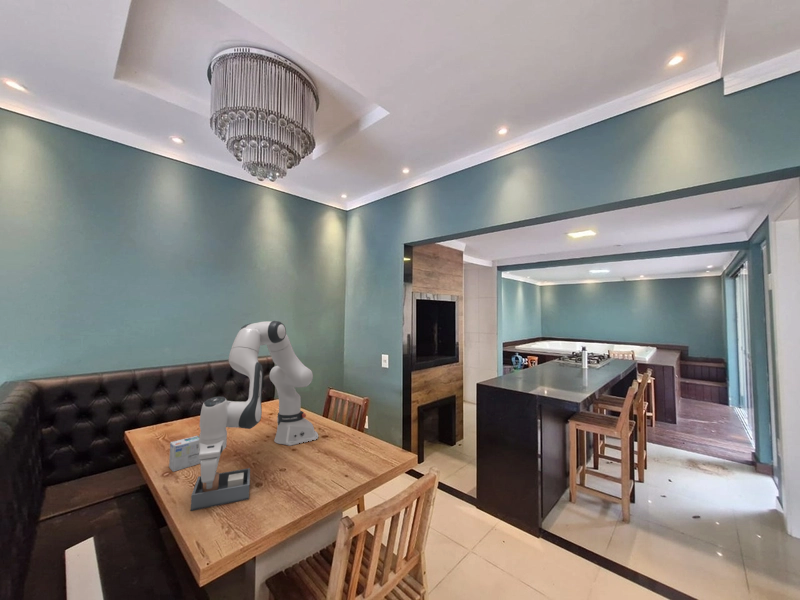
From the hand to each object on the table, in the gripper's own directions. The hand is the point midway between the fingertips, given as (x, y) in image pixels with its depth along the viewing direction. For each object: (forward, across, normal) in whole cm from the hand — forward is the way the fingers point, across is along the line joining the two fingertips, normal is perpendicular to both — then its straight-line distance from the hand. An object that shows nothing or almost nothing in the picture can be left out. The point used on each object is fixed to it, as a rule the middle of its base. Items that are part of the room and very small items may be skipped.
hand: (210, 483), depth 113 cm
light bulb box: (+5, -32, -13) cm, 35 cm away
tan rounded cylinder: (+4, 0, 0) cm, 4 cm away
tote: (+5, 0, +4) cm, 6 cm away
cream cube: (+4, 0, +8) cm, 9 cm away
